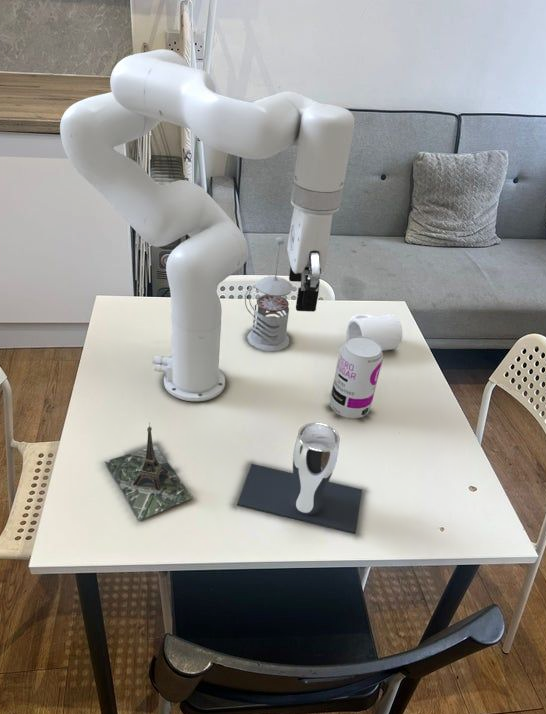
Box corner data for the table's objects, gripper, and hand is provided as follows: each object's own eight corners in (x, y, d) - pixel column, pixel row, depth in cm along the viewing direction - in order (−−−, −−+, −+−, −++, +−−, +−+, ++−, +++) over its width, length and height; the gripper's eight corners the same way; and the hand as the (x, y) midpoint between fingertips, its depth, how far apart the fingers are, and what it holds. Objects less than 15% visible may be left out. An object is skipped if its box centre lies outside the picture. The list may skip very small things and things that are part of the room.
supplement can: (374, 402, 131) (389, 342, 122) (362, 425, 125) (377, 363, 116) (337, 390, 134) (349, 329, 124) (323, 412, 128) (335, 350, 118)
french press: (276, 356, 142) (289, 252, 126) (232, 338, 146) (239, 235, 130) (297, 337, 148) (312, 236, 133) (255, 320, 153) (264, 221, 137)
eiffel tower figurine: (102, 463, 111) (97, 404, 103) (155, 445, 116) (154, 387, 108) (139, 522, 102) (136, 462, 94) (194, 499, 107) (196, 441, 98)
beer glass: (283, 486, 110) (293, 421, 101) (322, 486, 111) (336, 421, 102) (288, 517, 105) (299, 451, 95) (329, 517, 106) (345, 451, 96)
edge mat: (237, 505, 106) (237, 503, 106) (251, 465, 114) (251, 463, 114) (355, 534, 104) (355, 532, 103) (361, 490, 111) (362, 489, 111)
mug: (397, 355, 146) (406, 325, 141) (359, 361, 143) (366, 331, 138) (373, 327, 154) (379, 298, 149) (336, 332, 151) (341, 303, 146)
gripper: (285, 173, 102) (274, 269, 113) (299, 217, 89) (284, 322, 99) (331, 176, 103) (316, 271, 114) (351, 220, 89) (332, 323, 100)
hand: (301, 295), depth 106 cm, fingers open, 9 cm apart
